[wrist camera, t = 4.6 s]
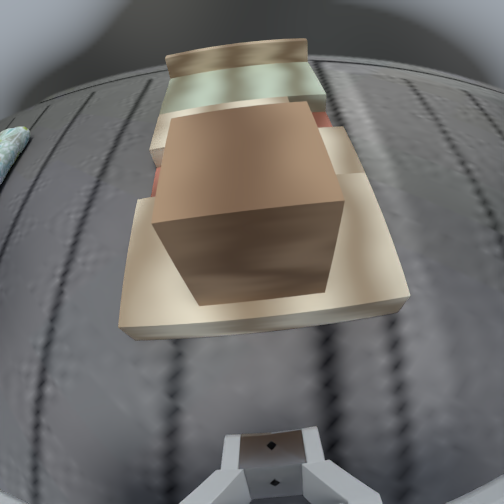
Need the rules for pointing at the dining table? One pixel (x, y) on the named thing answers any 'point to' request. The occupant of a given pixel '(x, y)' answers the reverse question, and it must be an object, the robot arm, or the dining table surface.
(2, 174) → the towel
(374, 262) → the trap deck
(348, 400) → the dining table surface
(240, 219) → the walnut block
